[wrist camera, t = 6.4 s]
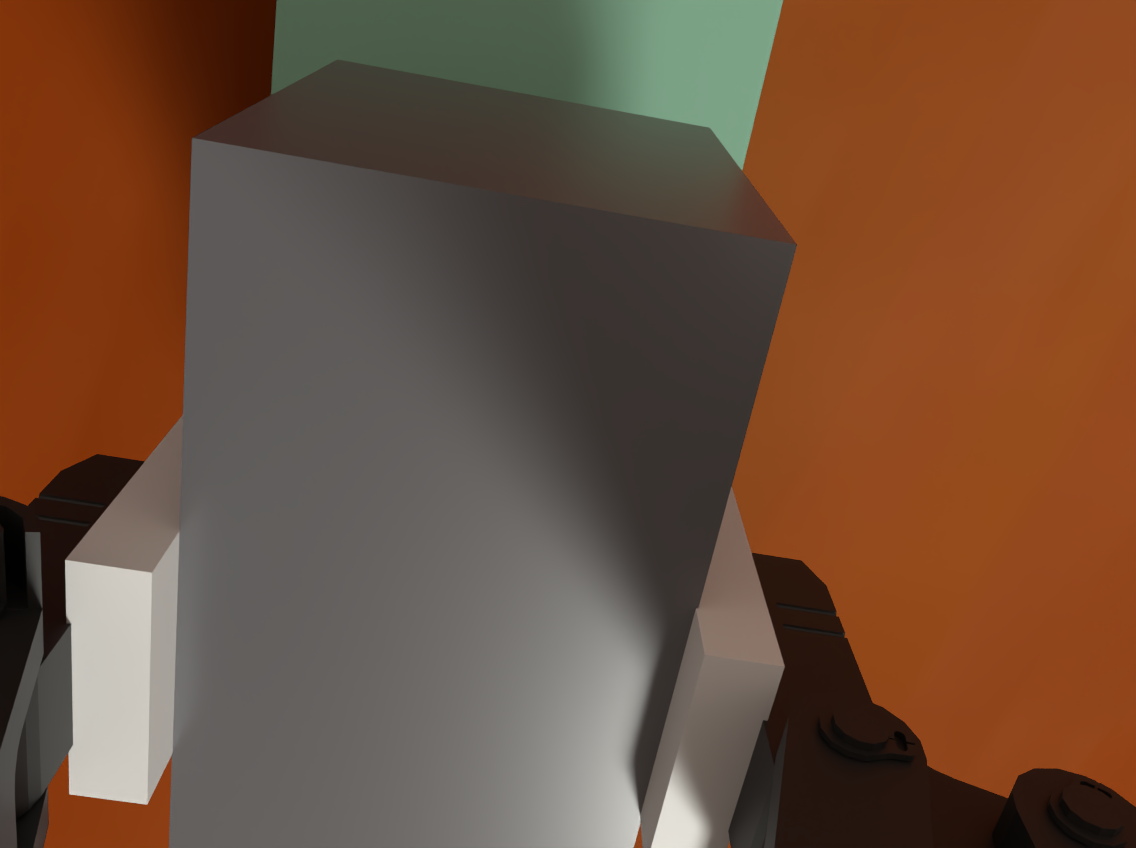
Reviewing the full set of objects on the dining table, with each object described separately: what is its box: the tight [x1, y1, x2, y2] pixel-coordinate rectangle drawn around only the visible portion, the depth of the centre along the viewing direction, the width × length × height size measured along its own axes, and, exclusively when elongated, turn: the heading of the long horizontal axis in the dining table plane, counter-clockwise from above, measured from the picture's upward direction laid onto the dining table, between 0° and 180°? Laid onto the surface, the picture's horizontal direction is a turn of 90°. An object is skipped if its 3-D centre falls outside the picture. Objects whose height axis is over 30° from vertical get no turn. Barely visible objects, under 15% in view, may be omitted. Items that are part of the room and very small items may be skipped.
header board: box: [271, 0, 783, 170], centre depth 19 cm, size 8×14×5 cm, turn 170°
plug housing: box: [169, 59, 797, 848], centre depth 14 cm, size 14×5×6 cm, turn 170°
